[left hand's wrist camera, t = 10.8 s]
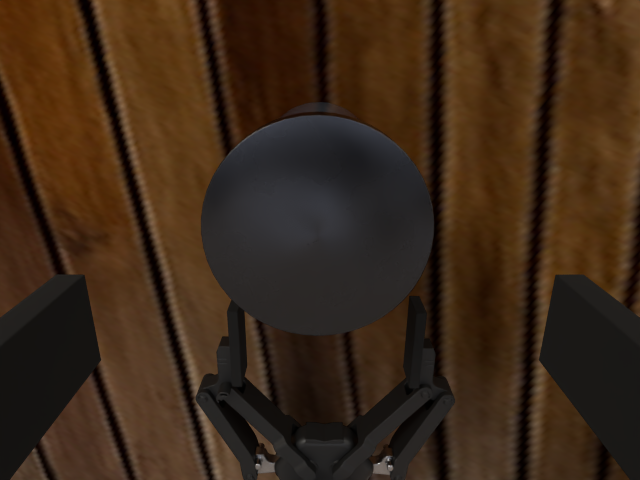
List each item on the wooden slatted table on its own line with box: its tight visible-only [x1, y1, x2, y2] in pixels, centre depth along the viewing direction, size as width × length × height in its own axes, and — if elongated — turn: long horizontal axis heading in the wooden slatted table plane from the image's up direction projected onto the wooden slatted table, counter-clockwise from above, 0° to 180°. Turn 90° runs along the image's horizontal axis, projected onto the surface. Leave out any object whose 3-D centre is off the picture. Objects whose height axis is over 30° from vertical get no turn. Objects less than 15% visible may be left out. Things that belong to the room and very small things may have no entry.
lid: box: [201, 112, 434, 336], centre depth 21 cm, size 10×10×2 cm
